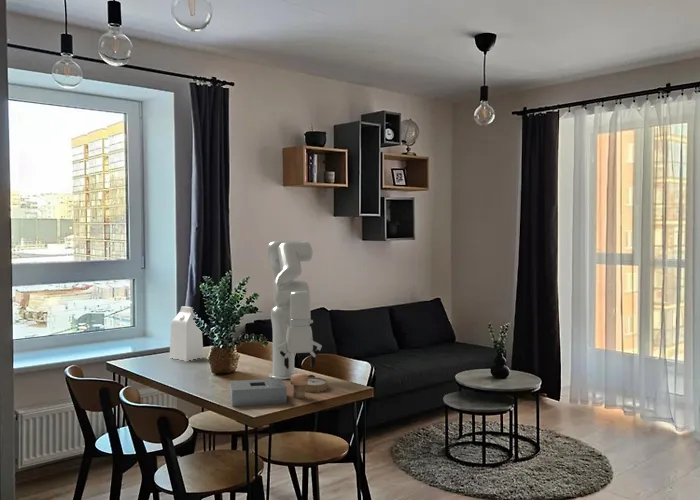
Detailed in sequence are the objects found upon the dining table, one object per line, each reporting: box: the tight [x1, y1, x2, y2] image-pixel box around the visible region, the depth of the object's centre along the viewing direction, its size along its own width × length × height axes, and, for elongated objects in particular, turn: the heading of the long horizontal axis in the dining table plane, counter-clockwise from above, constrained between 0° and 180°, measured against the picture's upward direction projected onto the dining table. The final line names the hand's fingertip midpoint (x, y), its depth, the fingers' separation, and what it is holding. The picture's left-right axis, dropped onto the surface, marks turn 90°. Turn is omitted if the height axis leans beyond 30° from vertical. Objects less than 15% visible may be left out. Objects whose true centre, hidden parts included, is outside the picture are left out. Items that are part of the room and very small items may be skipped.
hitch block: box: [229, 378, 288, 408], centre depth 246 cm, size 15×20×6 cm
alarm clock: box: [305, 374, 330, 393], centre depth 265 cm, size 11×5×15 cm
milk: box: [168, 305, 204, 362], centre depth 325 cm, size 12×12×26 cm
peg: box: [290, 373, 308, 400], centre depth 250 cm, size 7×7×8 cm
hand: (299, 367), depth 249 cm, fingers open, 9 cm apart
